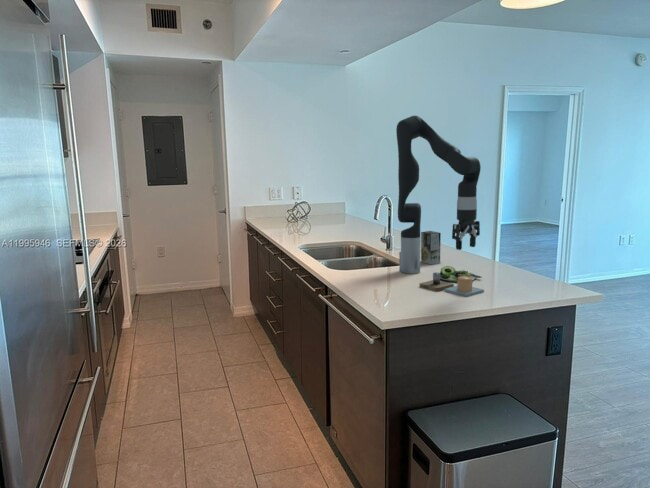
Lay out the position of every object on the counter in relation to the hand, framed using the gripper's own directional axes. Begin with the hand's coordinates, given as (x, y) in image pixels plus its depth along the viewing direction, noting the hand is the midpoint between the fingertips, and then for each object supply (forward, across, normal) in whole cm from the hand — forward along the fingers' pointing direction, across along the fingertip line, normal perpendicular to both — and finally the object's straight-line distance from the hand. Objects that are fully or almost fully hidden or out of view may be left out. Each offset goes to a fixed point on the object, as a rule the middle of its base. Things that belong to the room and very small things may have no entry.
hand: (465, 248), depth 190 cm
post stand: (+18, -3, +12) cm, 22 cm away
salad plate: (+19, +15, +17) cm, 29 cm away
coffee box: (+19, +32, +47) cm, 60 cm away
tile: (+18, 0, 0) cm, 18 cm away
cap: (+17, 0, 0) cm, 17 cm away
